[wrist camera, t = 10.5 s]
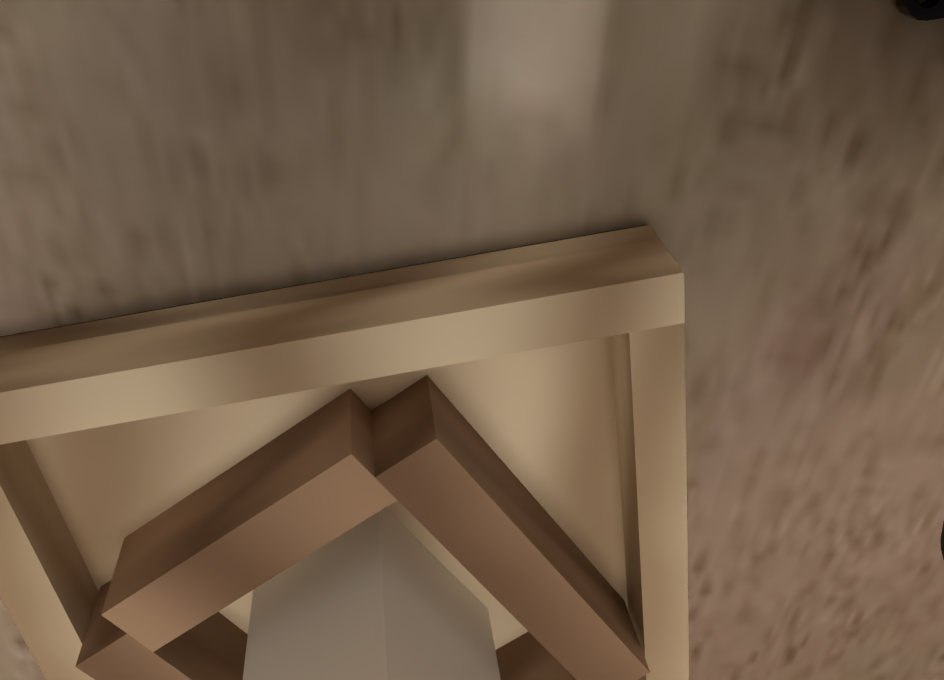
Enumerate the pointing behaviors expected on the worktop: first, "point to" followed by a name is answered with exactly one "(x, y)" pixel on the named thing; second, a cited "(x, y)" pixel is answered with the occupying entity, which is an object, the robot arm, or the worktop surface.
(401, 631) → the white tall post
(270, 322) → the tray
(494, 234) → the worktop surface
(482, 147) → the worktop surface
